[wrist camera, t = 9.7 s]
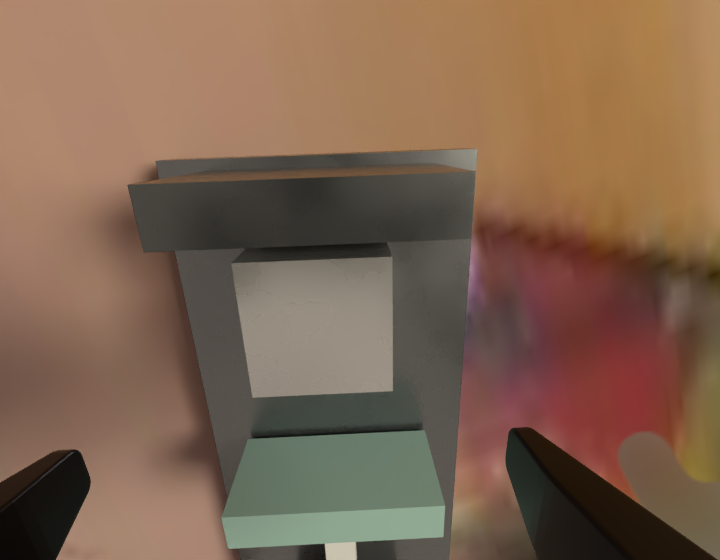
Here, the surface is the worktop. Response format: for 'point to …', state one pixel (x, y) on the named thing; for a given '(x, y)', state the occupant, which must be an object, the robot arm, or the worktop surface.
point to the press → (326, 227)
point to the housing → (316, 318)
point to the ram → (334, 492)
